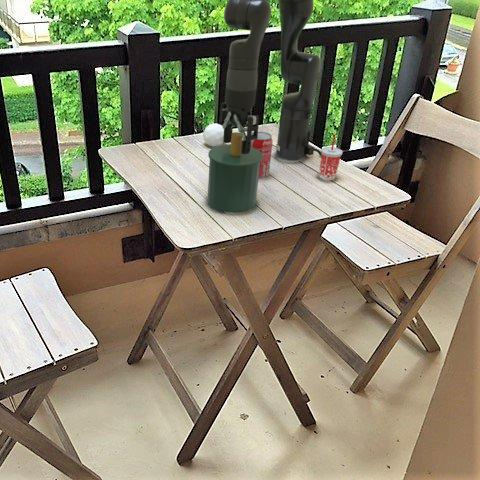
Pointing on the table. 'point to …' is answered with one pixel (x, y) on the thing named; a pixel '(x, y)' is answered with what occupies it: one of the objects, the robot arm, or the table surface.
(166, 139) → the table surface
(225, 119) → the robot arm
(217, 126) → the ball
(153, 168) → the table surface
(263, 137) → the soda can
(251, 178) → the tin
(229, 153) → the lid
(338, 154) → the beverage cup
